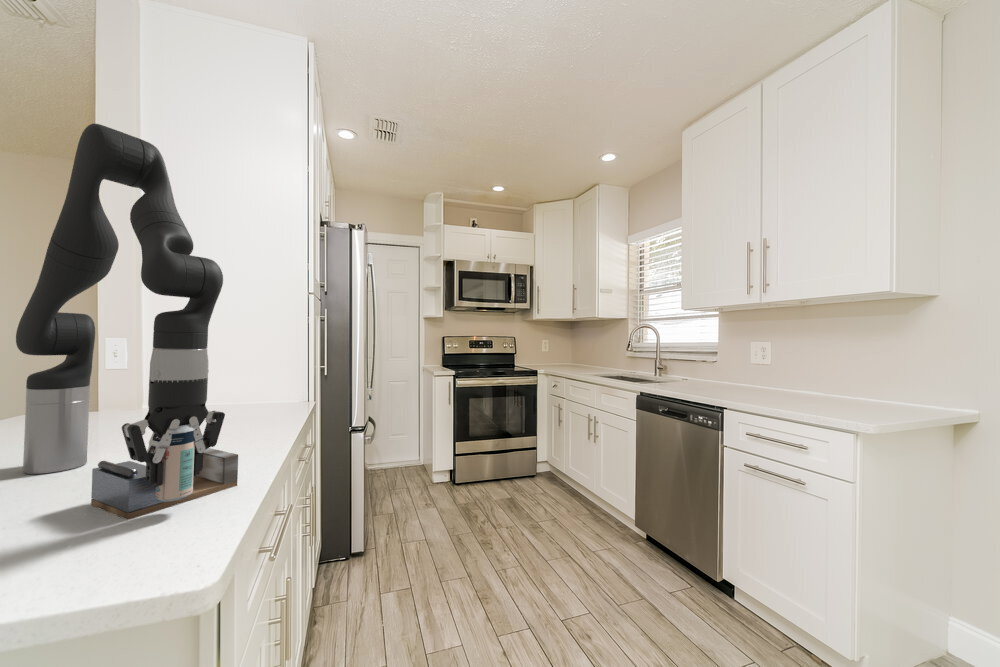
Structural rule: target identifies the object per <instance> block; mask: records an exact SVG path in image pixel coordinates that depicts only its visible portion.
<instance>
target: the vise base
mask: <svg viewBox="0 0 1000 667" xmlns="http://www.w3.org/2000/svg"><path fill="white" fill-rule="evenodd" d="M238 471H239V454H237V453H233V452H228V451H223V450H220V449H215V448H211V447H209V448H208V449H206V450H205V451H204V454H203V468H202V471H200V474H199V475H196V476H194V479H193V492H192V493H191V494H190V495H188V496H187V497H186V498H183V499H180V500H176V501H170V502H161V503H158V504H155V505H152V506H148V507H145V508H142V509H138V510H135V511H132V512H129V513H128V512H125V511H123V510H120V509H117V508H115V507H112V506H110V505H107V504H105V503H102V502H100V501H97V500H94V499H92V498H91V500H90V506H92V507H95V508H97V509H99V510H102V511H105V512H107V513H109V514H112V515H114V516H116V517H120V518H122V519H125V520H127V521H129V520H132V519H136V518H139V517H142V516H144V515H147V514H152V513H154V512H157V511H160V510H164V509H167V508H170V507H173V506H176V505H177V506H178V505H179V504H183V503H187V502H189V501H193V500H194V499H195V500H196V499H199V498H202V497H204V496H208V495H211V494H215V493H218V492H221V491H223V490H227V489H230V488H233V487H236V486H237V487H238V479H239V477H238V475H239V474H238V473H239V472H238Z"/></svg>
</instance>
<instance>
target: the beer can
mask: <svg viewBox="0 0 1000 667" xmlns="http://www.w3.org/2000/svg"><path fill="white" fill-rule="evenodd" d="M194 430H195V429H193V428H192V427H191V426H190V424H189V425H182V426H178V428H177V430H175V431H173V432H172V436H171V443H170V445H169V447H168V448H167V449H166V450H165V453H164V455H163V457H162V460H161V461H160V462H163V475H162V485H160V486H156V493H155V498H156V499H158V500H161V501H164V502H170V501H176V500H180V499H183V498H186V497H187V496H188V495H190V494H191V493H192V492H193V479H194V456H195V442H194ZM161 439H162V438H159V437H158V441H161Z"/></svg>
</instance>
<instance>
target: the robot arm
mask: <svg viewBox="0 0 1000 667" xmlns="http://www.w3.org/2000/svg"><path fill="white" fill-rule="evenodd" d="M168 174H169V173H168V170H167V167H166V163H165V160H164V157H163V155H162V153H161V152H160V150H159V149H158V147H156V146H155V145H154V144H152V143H150V142H149V141H146V140H144V139H141V138H139V137H136V136H133V135H131V134H128V133H126V132H122V131H120V130H117V129H114V128H111V127H109V126H106V125H103V124H99V123H91V124H89V125H87V126H86V127H85V128H84V130H83V131H82V133H81V135H80V138H79V141H78V143H77V147H76V151H75V156H74V161H73V165H72V170H71V175H70V179H69V183H68V188H67V192H66V197H65V199H64V203H63V204H62V205H63V206H62V207H61V210H60V213H59V216H58V219H57V221H56V225H55V227H54V229H53V232H52V234H51V237H50V240H49V242H48V246H47V248H46V253H45V256H44V260H43V264H42V267H41V270H40V273H39V278H38V280H37V282H36V285H35V288H34V289H33V292H32V294H31V296H30V299H29V301H28V303H27V305H26V307H25V309H24V311H23V312H22V315H21V317H20V320H19V321H18V324H17V328H16V331H15V332H16V333H15V344H16V348H17V350H18V351H20V352H21V353H22V354H23V355H26V356H27V355H29V356H66V357H65V359H64V360H63V361H62V362H61V363H59V364H57V365H56V366H53V367H51V368H48V369H45V370H42V371H41V370H40V371H37V372H34V373H32V374H29V375H28V376H27V378H26V384H25V385H26V387H25V388H26V390H25V391H26V392H25V415H24V438H23V459H22V460H23V463H22V473H24V474H30V475H31V474H32V475H35V474H37V475H38V474H48V473H57V472H64V471H67V470H72V469H75V468H79V467H82V466H85V465H86V464H87V463H88V446H89V445H88V441H89V418H90V413H89V412H90V393H91V392H90V390H91V389H90V385H91V377H92V371H93V359H94V358H93V357H94V348H95V341H96V325H95V322H94V319H93V318H92V317H91V316H90V315H88V314H86V313H76V312H75V313H74V312H59V311H60V310H61V308H63V306H64V305H65V304H66V303H67V302H69V301H70V300H72V299H73V298H75V297H76V296H78V295H79V294H81V293H83V292H85V291H87V290H88V289H90V288H92V287H93V286H95V285H97V284H98V283H99V282H101V281H102V280H103V279H104V278H106V277H107V275H108V274H109V273H110V271H111V269H112V267H113V265H114V262H115V259H116V256H117V254H118V251H119V243H120V242H119V239H118V236H117V234H116V232H115V230H114V228H113V225H112V224H111V222H110V220H109V219H108V216H107V215H106V212H105V209H104V208H103V206H102V203H101V202H102V201H101V199H100V189H101V188H100V187H101V184H102V182H103V180H106V181H109V182H114V183H117V184H120V185H124V186H127V187H131V188H136V189H140V190H141V191H142V192H143V193H144V194H142V195H141V196H140V197H139V198H138V199H137V200H136V201H135V202H134V203H133V205H132V207H131V209H130V212H129V215H130V216H129V220H130V223H131V228H132V229H133V232H134V234H135V236H136V238H137V240H138V242H139V244H140V248H141V268H140V269H141V270H140V277H141V278H140V279H141V282H142V283H143V286H144V287H145V288H147V289H148V290H149V291H150V292H152V293H154V294H156V295H159V296H163V297H164V296H166V297H168V296H169V297H174V298H175V297H177V298H188V299H189V300H188V302H187V304H186V305H185V306H184V307H183V308H182V309H178V310H169V311H162V312H160V313H157V315H156V316H154V321H153V334H152V335H153V338H152V351H151V352H152V353H151V357H150V362H149V376H148V397H147V398H148V401H147V405H148V412H147V414H146V415H145V417H144V419H142V420H139V421H136V422H133V423H128V422H127V423H124V424H123V425H122V426H121V431H122V434H123V437H124V441H125V444H126V447H127V451H128V454H129V458H130V459H131V460H133V461H137V462H139V463H145V466H146V481H147V482H148V483H150V485H152V486H155V487H156V486H160V485H162V475H163V462H160V461H161V460H162V457H163V455H164V453H165V450H166V449H167V448H168V447H169V445H170V443H171V436H172V432H173V431H175V430H177V428H178V426H182V425H189V424H190V426H191V427H192V428H193V429H195V430H194V442H195V456H194V476H196V475H199V474H200V471H202V468H203V454H204V451H205V450H206V449H208V448H211V447H212V448H214V447H215V446H217V443H218V441H219V436H220V433H221V430H222V426H223V423H224V420H225V416H226V413H225V412H223V411H218V410H212V411H210V410H208V408H207V407H206V403H207V400H208V385H209V384H208V383H209V382H208V380H209V356H208V355H209V354H208V343H209V342H208V340H209V326H210V322H211V318H212V315H213V312H214V311H215V306H216V303H217V302H218V301H217V300H218V299H219V296H220V293H221V291H222V287H223V285H224V275H223V272H222V268H221V267H220V266H219V264H218V263H217V262H216V261H215V260H213V259H211V258H207V257H202V256H196V255H192V253H193V250H194V241H193V239H192V238H193V237H191V236H192V235H191V233H190V232H189V231H188V229H187V227H186V224H185V223H184V221H183V219H182V217H181V215H180V213H179V211H178V208H177V206H176V203H175V199H174V194H173V190H172V186H171V182H170V178H169V175H168ZM203 422H205V423H206V425H205V427H204V431H203V433H202V430H201V425H202V424H203ZM147 427H148V428H149V429H150V430H151V431H152V434H151V436H150V439H149V440H148V448H147V447H146V443H145V441H144V437H143V436H144V435H145V434H146V428H147ZM158 437H159V438H162V439H161V441H158Z"/></svg>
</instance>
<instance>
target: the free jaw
mask: <svg viewBox="0 0 1000 667" xmlns="http://www.w3.org/2000/svg"><path fill="white" fill-rule="evenodd" d="M91 473H92V475H91V495H90V496H91V499H94V500H97V501H100V502H102V503H105V504H107V505H110V506H112V507H115V508H117V509H120V510H123V511H125V512H128V513H129V512H132V511H135V510H138V509H142V508H145V507H148V506H152V505H155V504H158V503H161V502H164V501H161V500H158V499H156V498H155V493H156V487H155V486H152V485H150V483H148V482H147V481H146V464H142V463H138V462H135V461H131V460H127V461H123V462H118V463H114V462H110V461H107V460H101V461H99V462H98V463H97V467H94V468H92V472H91Z"/></svg>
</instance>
